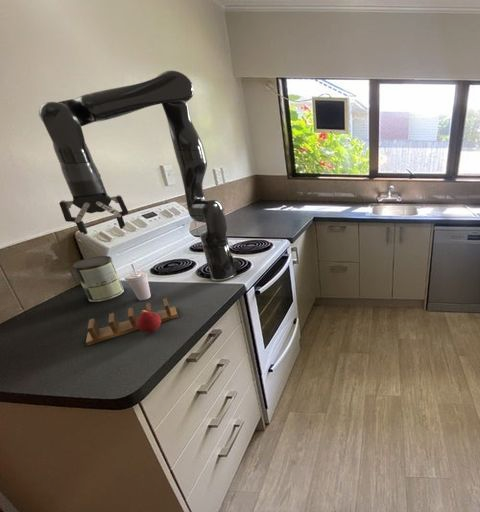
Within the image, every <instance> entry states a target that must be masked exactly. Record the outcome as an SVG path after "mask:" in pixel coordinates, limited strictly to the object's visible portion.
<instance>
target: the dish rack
mask: <svg viewBox="0 0 480 512" xmlns="http://www.w3.org/2000/svg"><path fill="white" fill-rule="evenodd" d="M162 301H163V302H162V303H163V305H164V306H163V307H164V309H161V310H158V311H155V313H157V314H158V315H159V316H160V318H161V323H163V322H164V323H165V322H167V321H170V320H173V319H176V318H178V317H179V315H178V312H177V308H176V306H172V307H170V305H169V302H168V299H167V297H165V298H162ZM145 307H146V311H150V312H154V311H153V308H152V305H151V303H150V302H146V303H145ZM127 317H128V320H125V321H122V322H118V319H117V317H116V316H115V313H114V312H112V313H109V314H108V325H109V326H108V325H107V326H105V327H101V328H99V326H98V324H97V322H96V320H95V318H94V317H93V318H89V319H88V324H87V331H88V332H87V334H86V340H85V344H86V345H87V346H91V345H94V344H98V343H100V342H103V341H107V340H110V339H113V338H116V337H120V336H122V335H126V334H129V333H132V332H135V331H138V330H139V329H138V328H137V325H136V321H137V319H138V317H137V316H136V313H135V311H134V309H133V307H129V308H127ZM139 331H140V330H139Z"/></svg>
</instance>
